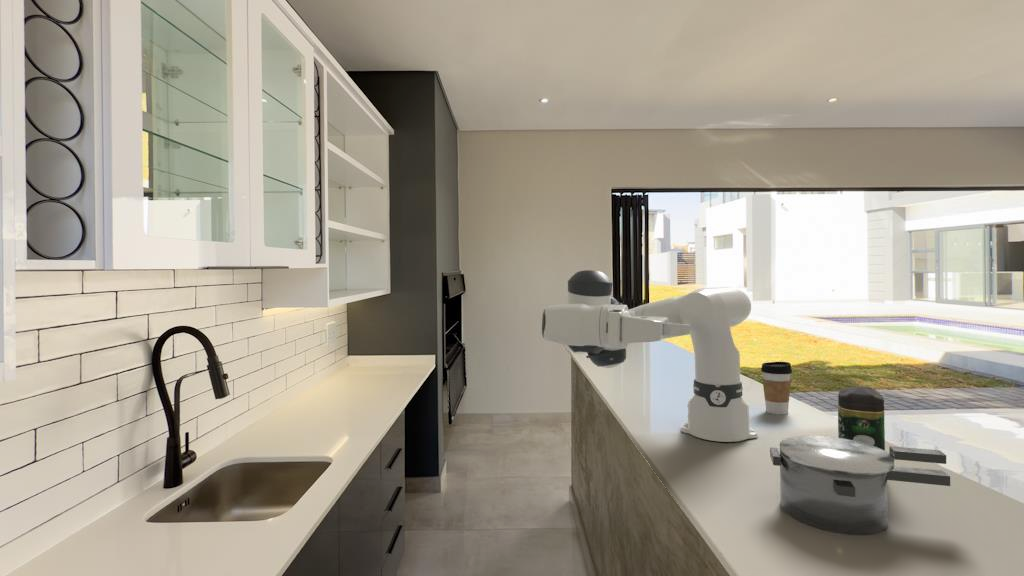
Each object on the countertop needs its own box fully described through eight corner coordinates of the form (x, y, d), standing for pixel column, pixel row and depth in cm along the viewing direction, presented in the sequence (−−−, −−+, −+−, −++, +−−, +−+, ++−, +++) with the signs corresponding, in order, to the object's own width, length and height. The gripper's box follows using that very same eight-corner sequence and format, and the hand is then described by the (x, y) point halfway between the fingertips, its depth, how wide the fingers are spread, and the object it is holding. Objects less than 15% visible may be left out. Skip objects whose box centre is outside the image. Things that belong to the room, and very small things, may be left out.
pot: (766, 481, 103) (765, 433, 103) (921, 499, 94) (921, 445, 94) (779, 532, 83) (779, 472, 83) (979, 560, 74) (979, 492, 74)
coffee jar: (838, 466, 111) (837, 381, 110) (883, 473, 106) (882, 385, 106) (839, 482, 102) (837, 391, 102) (887, 490, 98) (886, 395, 98)
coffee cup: (798, 415, 150) (797, 365, 150) (769, 416, 150) (769, 365, 150) (783, 408, 159) (783, 360, 158) (756, 408, 159) (755, 361, 159)
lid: (774, 437, 101) (774, 426, 101) (922, 449, 92) (922, 437, 92) (786, 468, 85) (786, 455, 85) (967, 486, 76) (967, 471, 76)
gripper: (625, 337, 113) (691, 341, 108) (608, 346, 93) (688, 350, 89) (625, 309, 113) (691, 311, 108) (609, 312, 94) (688, 314, 89)
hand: (690, 329), depth 98 cm, fingers closed
